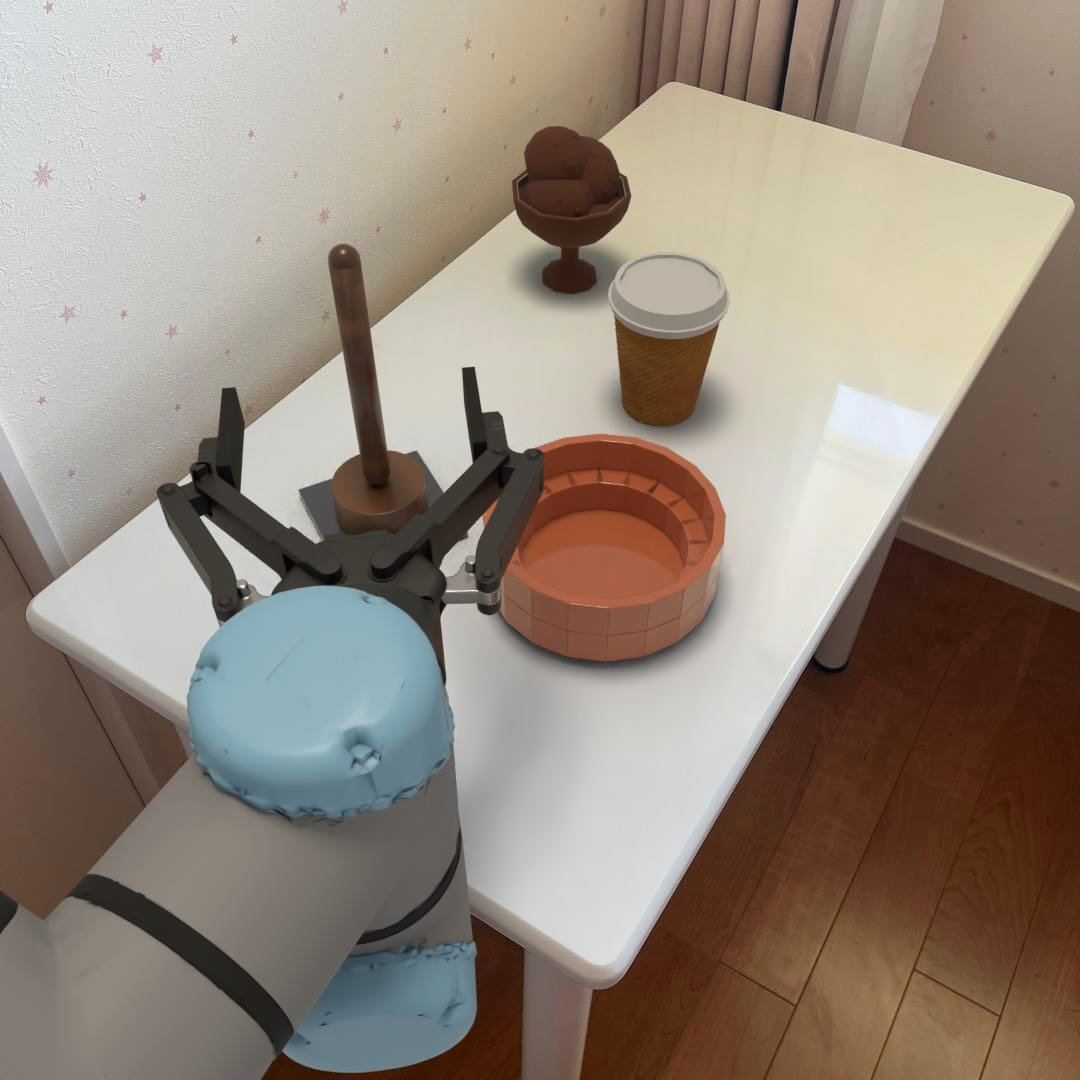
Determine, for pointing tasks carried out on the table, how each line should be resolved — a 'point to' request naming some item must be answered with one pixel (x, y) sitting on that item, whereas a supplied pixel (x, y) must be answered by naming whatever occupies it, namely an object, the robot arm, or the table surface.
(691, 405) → the disposable coffee cup
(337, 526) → the dark grey square tile
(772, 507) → the table surface
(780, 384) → the table surface
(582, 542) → the terracotta round bowl
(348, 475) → the paper towel holder
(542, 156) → the ice cream bowl
